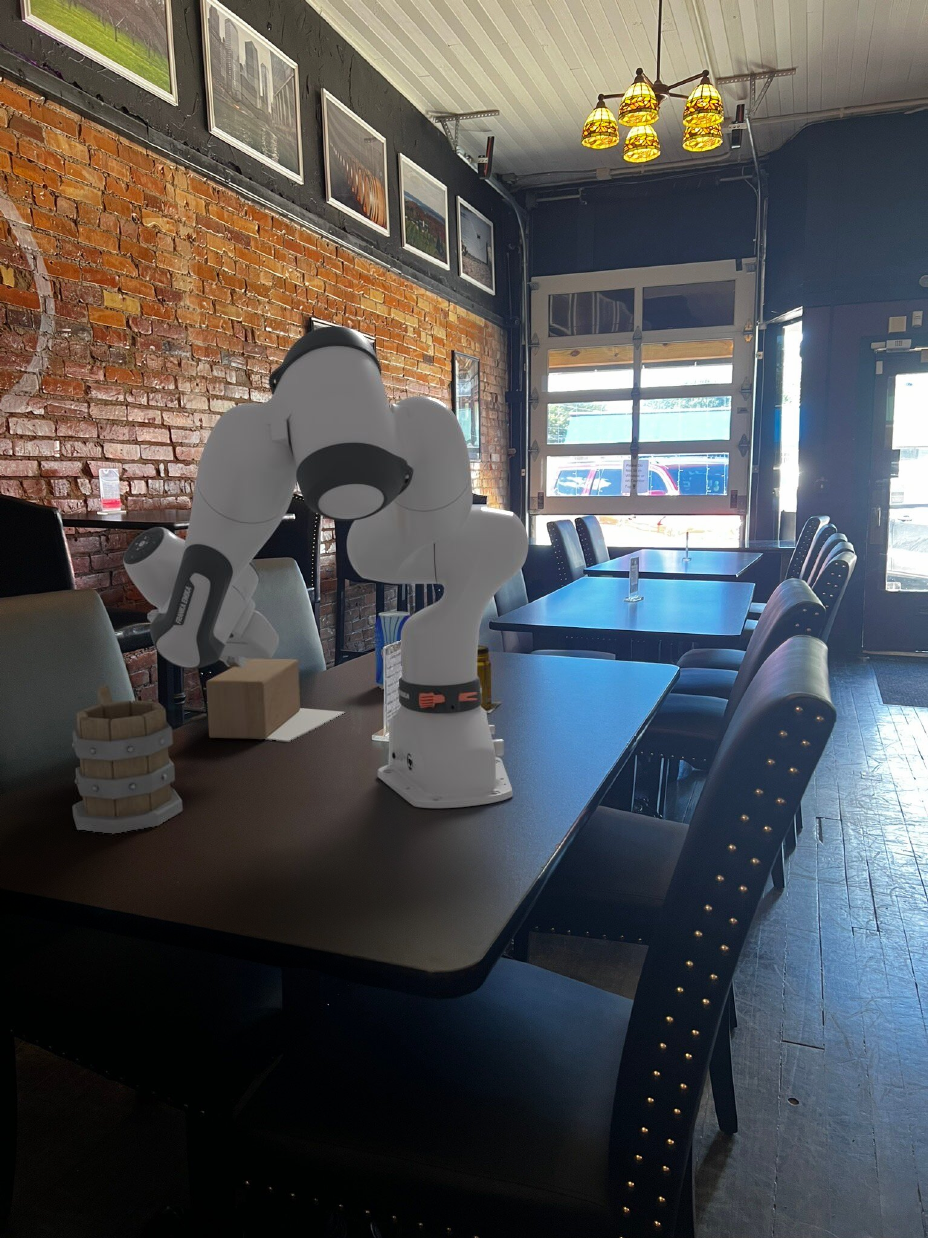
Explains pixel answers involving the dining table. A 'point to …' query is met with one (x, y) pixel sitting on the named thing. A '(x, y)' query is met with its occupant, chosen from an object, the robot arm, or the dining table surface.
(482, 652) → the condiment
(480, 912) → the dining table surface
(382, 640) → the beer can
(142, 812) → the tankard
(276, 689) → the wooden block
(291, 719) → the mat
